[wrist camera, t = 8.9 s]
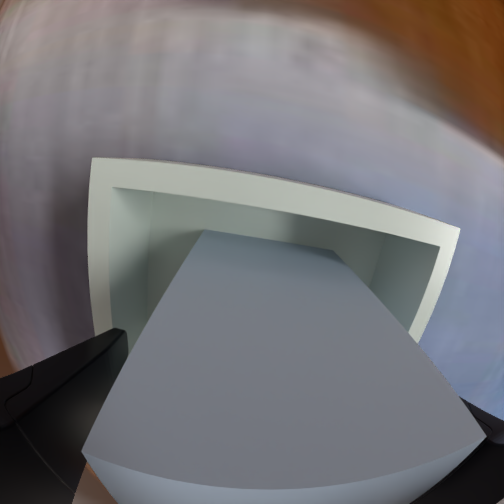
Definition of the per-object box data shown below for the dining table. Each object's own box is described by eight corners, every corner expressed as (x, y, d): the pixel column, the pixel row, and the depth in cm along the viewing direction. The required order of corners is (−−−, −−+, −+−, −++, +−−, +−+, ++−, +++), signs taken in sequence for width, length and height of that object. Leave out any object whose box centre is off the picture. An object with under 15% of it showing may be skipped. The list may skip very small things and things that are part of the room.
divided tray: (293, 455, 18) (299, 502, 14) (151, 439, 17) (139, 485, 13) (395, 205, 12) (460, 228, 7) (148, 159, 11) (92, 157, 7)
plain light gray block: (302, 352, 13) (349, 537, 4) (193, 338, 13) (147, 534, 3) (332, 250, 12) (486, 436, 2) (204, 229, 11) (81, 451, 2)
